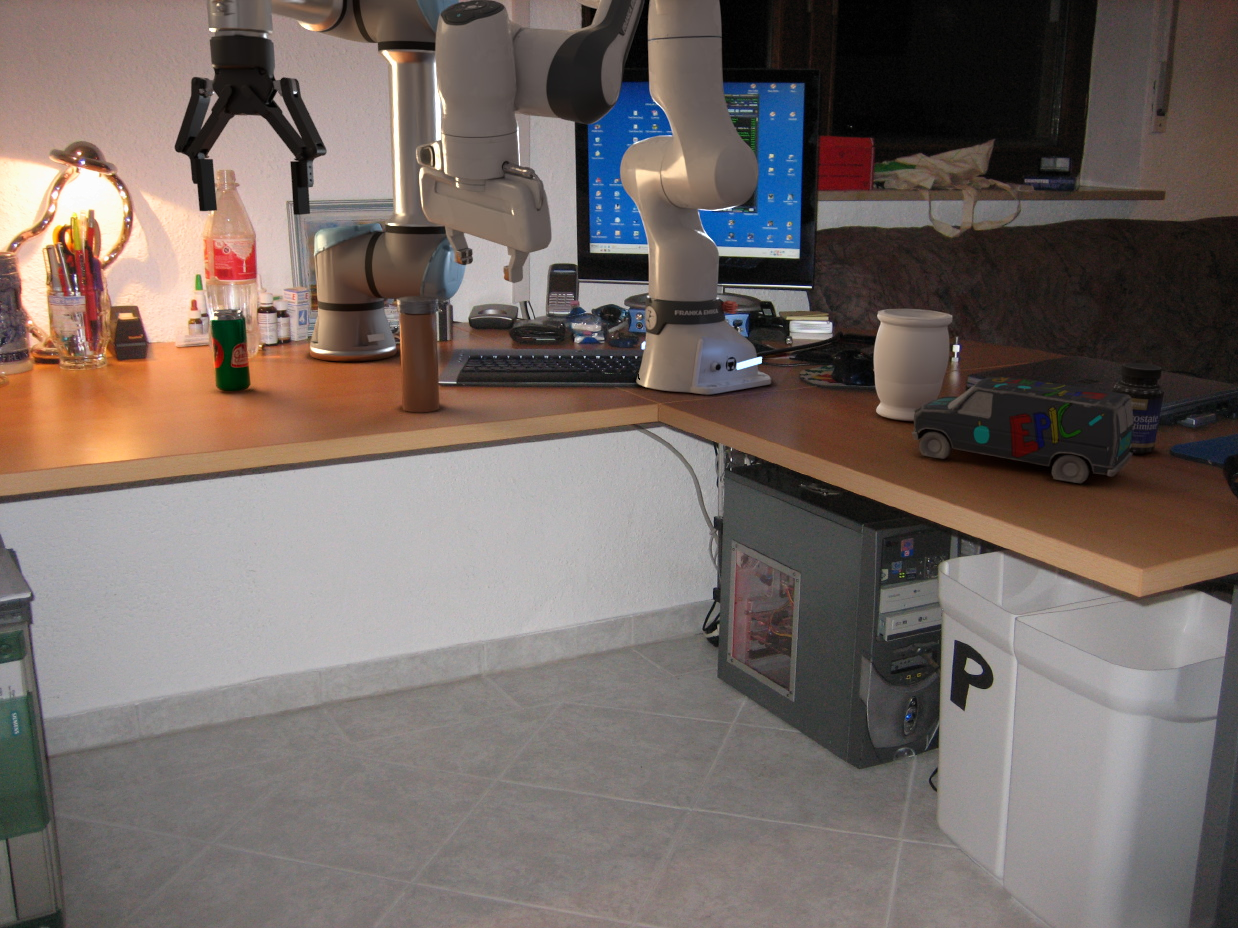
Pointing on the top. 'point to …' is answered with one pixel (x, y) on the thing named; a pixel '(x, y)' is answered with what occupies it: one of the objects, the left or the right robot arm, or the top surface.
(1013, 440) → the toy van
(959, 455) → the top surface
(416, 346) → the screw-top jar
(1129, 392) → the pill bottle
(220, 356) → the soda can
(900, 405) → the jar
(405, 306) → the lid
